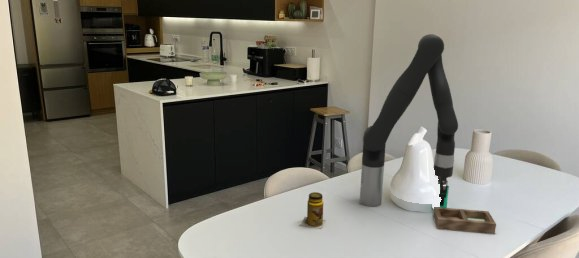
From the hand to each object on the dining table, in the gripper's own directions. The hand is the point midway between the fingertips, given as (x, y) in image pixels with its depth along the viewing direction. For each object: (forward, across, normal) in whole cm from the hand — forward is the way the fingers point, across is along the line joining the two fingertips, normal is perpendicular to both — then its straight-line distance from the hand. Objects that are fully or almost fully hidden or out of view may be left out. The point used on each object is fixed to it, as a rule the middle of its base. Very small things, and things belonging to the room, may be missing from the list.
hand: (439, 202), depth 183 cm
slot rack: (+3, +13, +7) cm, 15 cm away
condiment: (+3, +23, -50) cm, 55 cm away
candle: (+3, 0, 0) cm, 3 cm away
